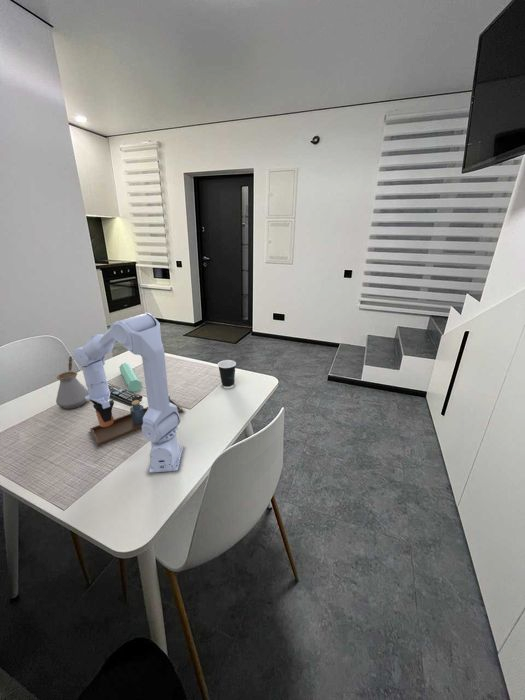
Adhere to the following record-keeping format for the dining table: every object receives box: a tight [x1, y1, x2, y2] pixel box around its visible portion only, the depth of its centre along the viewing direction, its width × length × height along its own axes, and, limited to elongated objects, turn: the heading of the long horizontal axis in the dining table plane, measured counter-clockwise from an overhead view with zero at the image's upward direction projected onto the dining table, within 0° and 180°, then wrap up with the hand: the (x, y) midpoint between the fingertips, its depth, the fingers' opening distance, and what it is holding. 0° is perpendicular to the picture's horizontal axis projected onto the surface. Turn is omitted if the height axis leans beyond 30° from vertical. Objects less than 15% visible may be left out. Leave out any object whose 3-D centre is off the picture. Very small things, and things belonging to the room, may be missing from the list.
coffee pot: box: [55, 356, 89, 410], centre depth 116 cm, size 21×12×15 cm, turn 25°
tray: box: [89, 398, 184, 447], centre depth 103 cm, size 29×10×2 cm, turn 131°
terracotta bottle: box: [95, 403, 115, 427], centre depth 94 cm, size 4×4×8 cm
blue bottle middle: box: [129, 399, 145, 425], centre depth 102 cm, size 4×4×8 cm
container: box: [118, 362, 143, 393], centre depth 132 cm, size 6×6×25 cm
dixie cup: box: [217, 359, 237, 389], centre depth 126 cm, size 8×8×11 cm
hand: (105, 417), depth 95 cm, fingers closed on terracotta bottle, 4 cm apart
